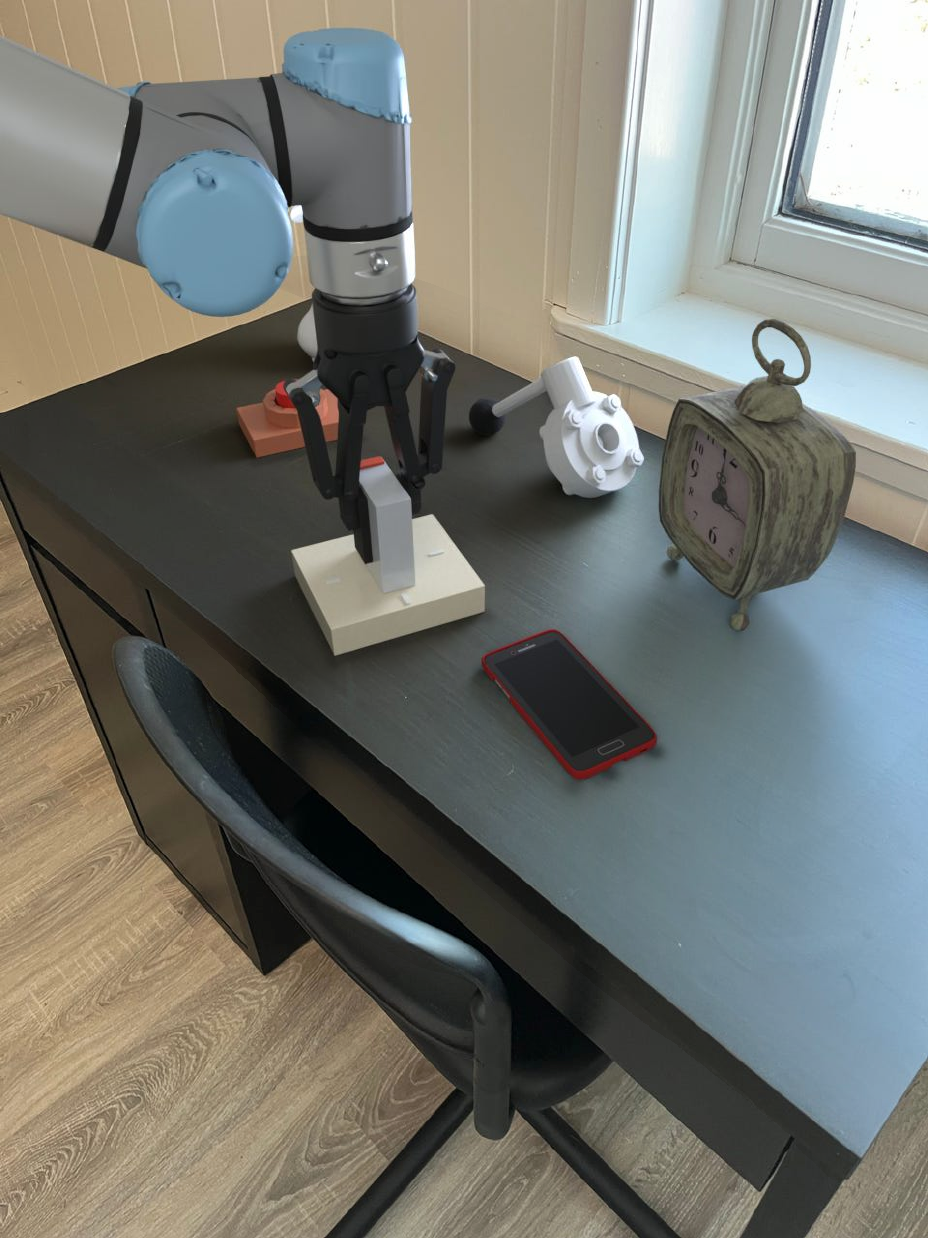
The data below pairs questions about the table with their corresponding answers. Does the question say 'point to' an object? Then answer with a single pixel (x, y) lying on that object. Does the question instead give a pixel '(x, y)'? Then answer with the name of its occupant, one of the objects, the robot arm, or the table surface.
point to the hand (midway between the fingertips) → (384, 548)
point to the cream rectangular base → (369, 616)
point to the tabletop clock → (754, 482)
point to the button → (283, 396)
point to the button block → (284, 424)
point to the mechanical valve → (574, 430)
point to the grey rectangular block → (388, 526)
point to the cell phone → (568, 703)
